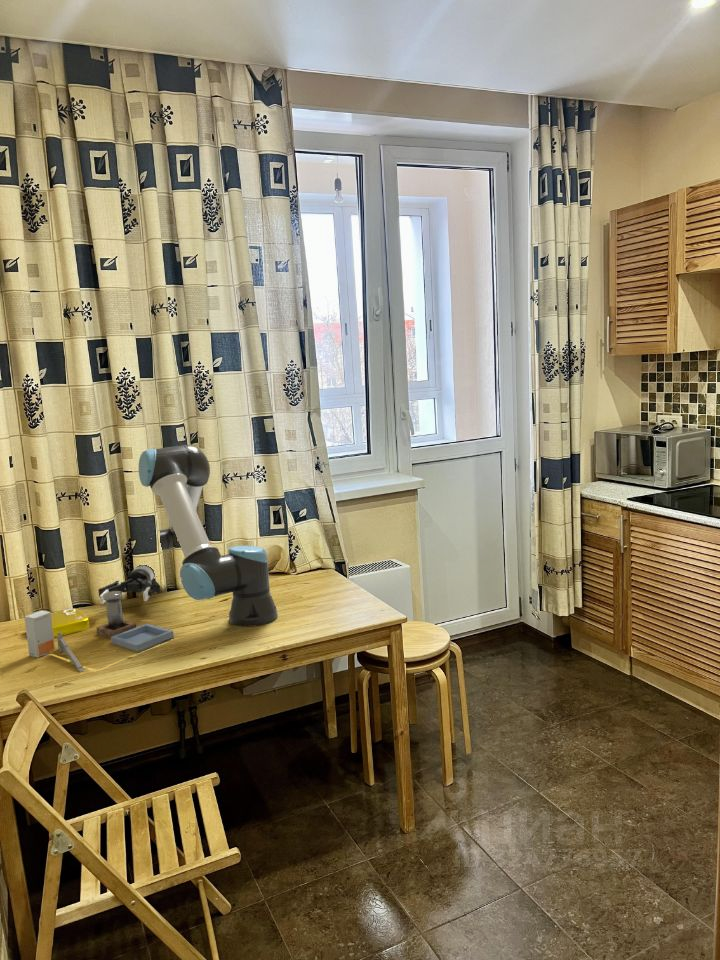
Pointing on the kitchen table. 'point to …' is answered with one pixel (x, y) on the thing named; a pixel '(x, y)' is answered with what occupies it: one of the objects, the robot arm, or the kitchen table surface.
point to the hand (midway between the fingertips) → (123, 598)
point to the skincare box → (39, 633)
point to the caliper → (68, 652)
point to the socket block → (109, 633)
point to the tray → (142, 637)
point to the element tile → (69, 622)
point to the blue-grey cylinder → (114, 609)
